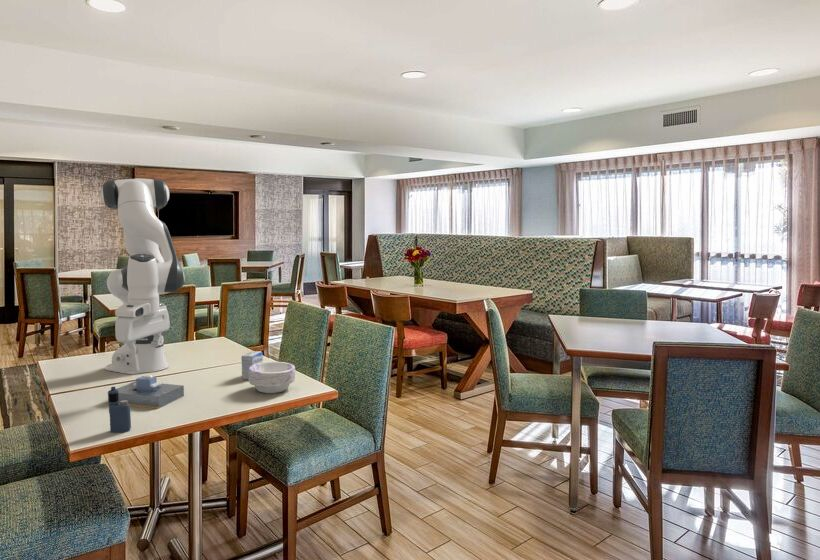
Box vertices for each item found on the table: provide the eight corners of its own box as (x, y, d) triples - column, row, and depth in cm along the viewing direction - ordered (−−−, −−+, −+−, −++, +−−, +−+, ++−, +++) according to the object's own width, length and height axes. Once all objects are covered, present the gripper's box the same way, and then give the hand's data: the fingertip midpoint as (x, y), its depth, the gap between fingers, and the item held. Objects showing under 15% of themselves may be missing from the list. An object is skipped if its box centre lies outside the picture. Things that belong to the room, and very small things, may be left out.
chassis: (106, 403, 166) (106, 392, 166) (135, 391, 179) (135, 381, 178) (157, 408, 163) (157, 397, 162) (183, 396, 175) (183, 385, 174)
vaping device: (112, 429, 146) (110, 385, 145) (132, 428, 147) (130, 385, 146) (108, 432, 144) (105, 388, 142) (128, 432, 144) (126, 388, 143)
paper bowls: (303, 390, 182) (303, 367, 181) (260, 399, 172) (259, 375, 172) (283, 380, 194) (283, 358, 193) (241, 388, 184) (241, 365, 183)
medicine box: (253, 380, 194) (252, 356, 193) (241, 379, 194) (241, 355, 194) (263, 374, 201) (262, 351, 200) (252, 373, 202) (251, 350, 201)
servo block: (133, 400, 170) (132, 376, 170) (140, 397, 173) (139, 373, 172) (153, 402, 169) (152, 377, 168) (160, 399, 172) (159, 375, 171)
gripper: (157, 301, 179) (158, 342, 180) (110, 311, 159) (112, 357, 161) (174, 302, 177) (175, 343, 179) (129, 313, 158) (130, 359, 159)
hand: (144, 350), depth 170 cm, fingers open, 8 cm apart
